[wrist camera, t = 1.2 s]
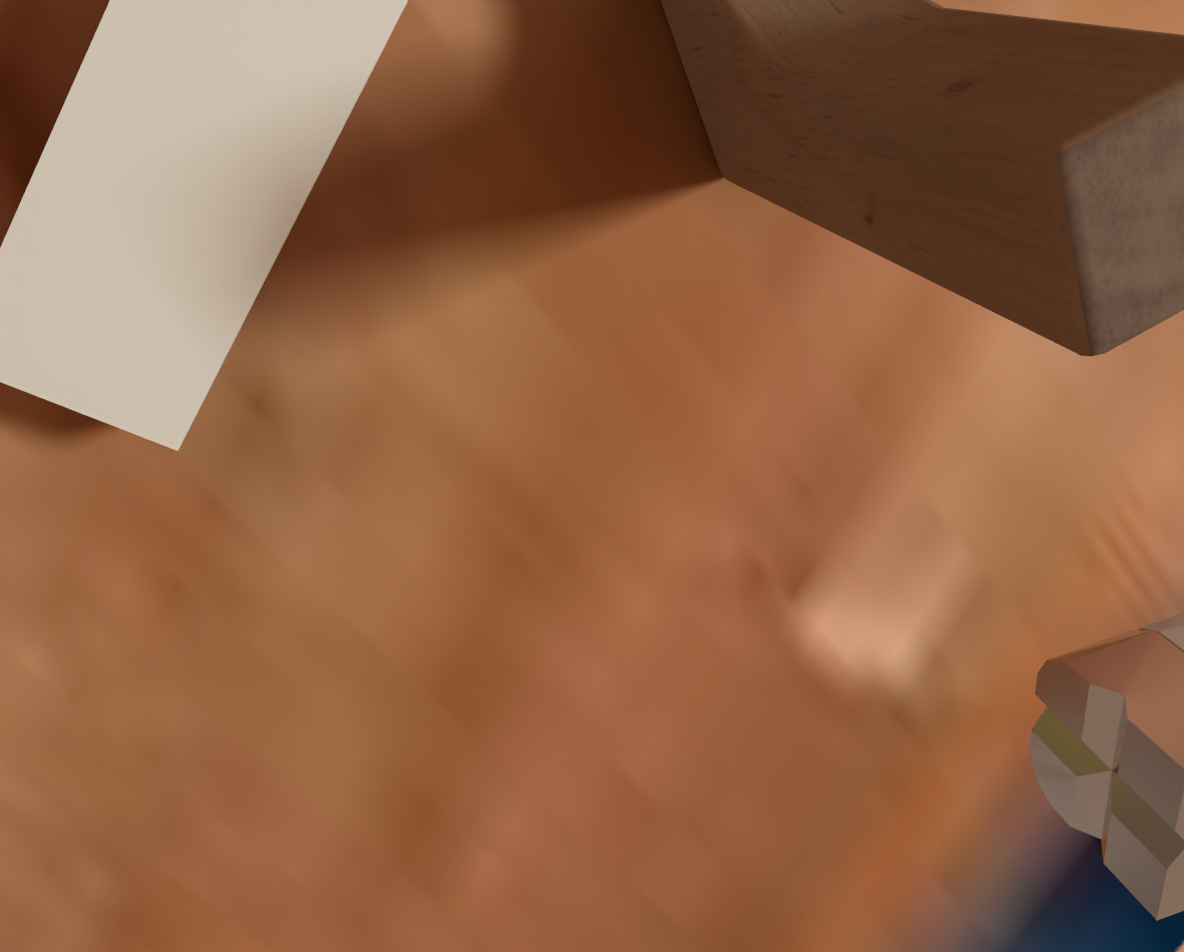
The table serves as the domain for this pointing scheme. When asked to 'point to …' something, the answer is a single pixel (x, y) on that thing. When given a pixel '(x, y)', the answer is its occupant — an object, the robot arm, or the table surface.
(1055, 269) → the wooden block
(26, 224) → the white rectangular block
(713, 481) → the table surface
